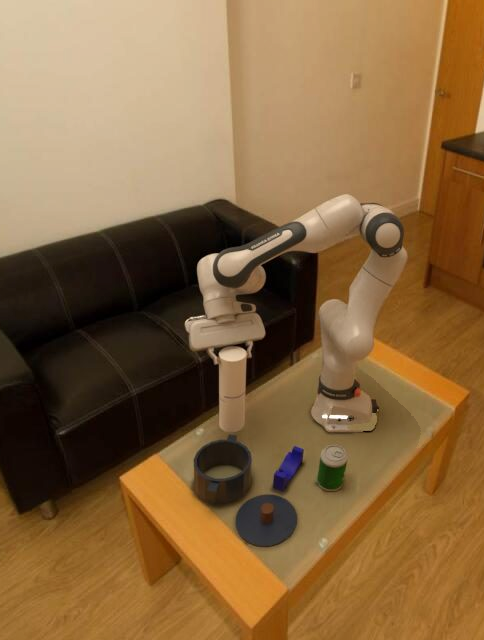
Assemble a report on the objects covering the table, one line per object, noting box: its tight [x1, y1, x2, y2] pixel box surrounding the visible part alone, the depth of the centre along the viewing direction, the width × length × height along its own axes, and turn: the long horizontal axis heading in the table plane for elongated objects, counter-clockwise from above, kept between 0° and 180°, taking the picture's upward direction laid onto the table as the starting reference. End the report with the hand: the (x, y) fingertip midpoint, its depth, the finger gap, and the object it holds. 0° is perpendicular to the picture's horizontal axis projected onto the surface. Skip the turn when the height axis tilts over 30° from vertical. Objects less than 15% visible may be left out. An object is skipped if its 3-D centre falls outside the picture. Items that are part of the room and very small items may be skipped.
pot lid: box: [235, 493, 298, 548], centre depth 126 cm, size 15×15×5 cm
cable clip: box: [272, 445, 305, 493], centre depth 139 cm, size 12×4×6 cm, turn 160°
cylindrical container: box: [218, 345, 247, 433], centre depth 139 cm, size 7×7×25 cm
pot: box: [193, 434, 253, 506], centre depth 132 cm, size 15×20×10 cm
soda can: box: [316, 444, 349, 492], centre depth 138 cm, size 8×8×12 cm
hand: (233, 361), depth 133 cm, fingers closed on cylindrical container, 7 cm apart
